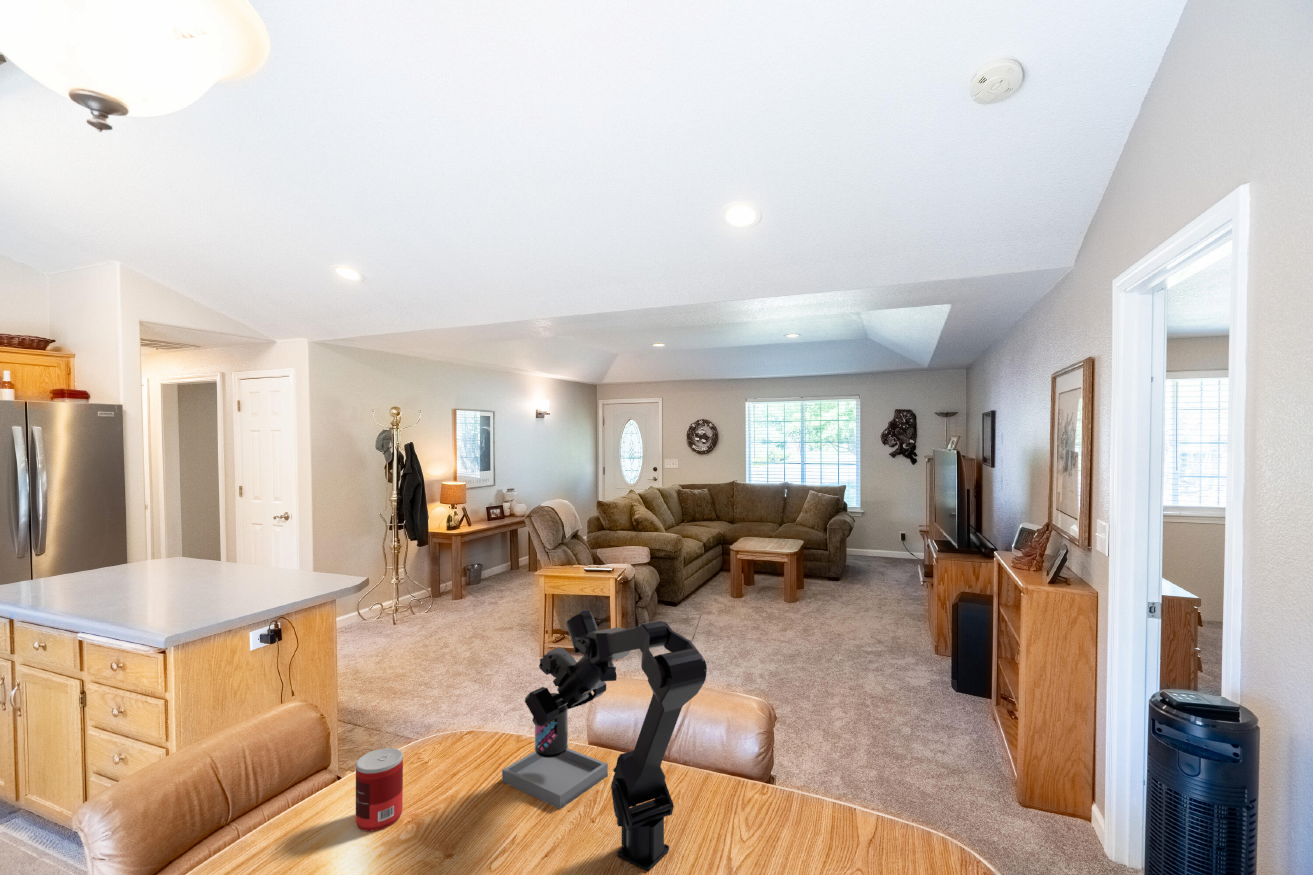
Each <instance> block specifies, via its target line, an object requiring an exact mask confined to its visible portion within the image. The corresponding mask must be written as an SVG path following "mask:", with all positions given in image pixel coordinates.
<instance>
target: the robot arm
mask: <svg viewBox="0 0 1313 875" xmlns="http://www.w3.org/2000/svg"><path fill="white" fill-rule="evenodd" d="M565 625H566V628H567V631H568V635H569V638H570V640H571V644H572V646H573V650H574V652H575V653H576V654H577V653H581V654H582V655H583V656H582V657H581V658H580V659H579V660H578V661H577V660H576V659H575V657H573V655H572V654H571V653H569V652H568V651H567V650H566V649H565V648H563V647H557V648H554V649H552V650H550V651H549V650H548V651H547V652H546V654H544V655H543V656H542V658H540V659H539V664H538V667H539V669H540V671H542V672H543V673H544V674H545V675H547V676H548V675H551V676H552V677H553V678H554V679H553V680H552V683H553V684H554V686H555V688H556V691H557V693H559V694H557V695H554V696H552V695H551V694H550V693H551V692H550V691H549V688H548V687H544V686H541V687H539V688H537V689H535V690H533V691H531V692H529V693H528V695H527V696H525V698H524V703H525V705H526V706H527V708H528V710H529V712H530V713H531V715H532V723H533V725H534V726H535V725H537V724H538V725H539V726H544V725H545V724H547V723H550V722H552V721H553V720H555V719H557V716H558V715H559V708H560V707H562V706H564V705H566V704H568V710H570V709H573V708H576V707H580V706H583V705H586V704H588V703H590V702H591V701H593V700H594V699H597V698H598V697H600V696H602V695H603V694H604V693H605V692H607V683H606V682H616V681H617V677H618V676H617V671H616V670H617V666H615V665H614V662H613V661H617V660H620V659H624V658H625V657H627V656H628V655H629V654H630V653H631V652H630V651H636V650H639V651H640V652H641V664H640V665H641V670H642V671H643V672H644V675H645V677H647V682H648V684H649V687H650V690H651V691H652V697H651V698H650V702H649V705H648V708H647V709H646V710H647V711H646V713H645V717H644V719H643V723H642V725H641V729H640V732H639V735H638V737H637V740H636V744H635V746H634V748H633V750H630V751H627V752H623V753H620V754H619V756H618V757H617V759H616V760H617V761H616V764H615V767H614V768H613V769H612V770H613V772H614V775H613V777H612V780H611V785H610V790H611V796H612V797H611V798H612V804H613V805H612V806H613V812H614V816H615V818H616V825H617V826H618V827H620V828H621V846H622V847H621V848H620V849H619V850H618V851H617V852H616V853H617V854H616V855H617V857H619V858H621V859H623V860H625V861H627V862H629V863H631V864H633V865H635V866H637V867H639V868H641V869H643V870H645V871H649V870H651V869H652V868H653V867H654V866H655V865H656V864H657V863H658V862H659V861H660V860H661V859H662V858H663V857H664V856H665V855H666V854H667V853H668V852H669V851H670V846H669V845H668V844H665V817H668V816H669V817H670V816H673V812H674V808H675V806H674V802H673V799H672V797H671V794H670V791H669V788H668V786H667V783H666V775H665V773H664V770H663V769H662V763H663V759H664V757H665V755H666V751H667V749H668V747H669V743H670V741H671V738H672V735H673V733H674V731H675V728H676V724H677V723H678V719H679V718H680V717H679V716H680V715H681V714H680V713H681V711H682V708H683V707H684V705H686V704H687V703H688V702H689V701H691V700H692V699H693V698H694V697H695V696H697V694H698V693H699V692H700V690H701V689H702V687H703V685H704V683H705V681H706V679H707V672H708V668H707V662H706V660H705V657H704V656H703V655H702V654H701V652H700V651H699V650H698V649H697V647H696V645H694V643H693V642H692V641H691V640H690V639H688V638H686V637H684V636H683V635H680V634H679V633H677V632H675V631H674V630H672V628H671V627H670V625H669V624H668V623H667V622H666V621H662V620H656V621H649V622H644V623H640V624H639V625H637V626H634V627H633V626H632V627H630V628H624V627H613V628H606V629H600V630H599V629H598V625H597V623H596V621H595V618H594V615H593V614H592V613H591V610H590V609H585V610H580V612H579V613H578V614H576V615H573V616H572V617H571V618H569V619H568V620H567V621H566V623H565ZM658 647H664V648H665V650H666V651H668V652H666V653H661V654H657V655H653V653H652V652H651V651H650V649H653V648H654V649H655V648H658ZM592 692H593V693H592ZM557 702H558V703H557Z"/></svg>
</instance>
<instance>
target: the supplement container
mask: <svg viewBox="0 0 1313 875" xmlns="http://www.w3.org/2000/svg"><path fill="white" fill-rule="evenodd" d="M550 694H551V695H552V696H554V695H557V694H559V692H550ZM557 703H558V702H557ZM568 712H569V709H568V704H566V705H564V706H562V707H560V708H559V715H558V716H557V719H555V720H553V721H552V722H550V723H547V724H545V725H544V726H539V725H538V724H537V725H535V724H534V751H536V753H537V754H538V755H539V756H541V757H545V758H553V757H557V756H560V755H562V754H563V753H565V751H566V750H567V748H568V746H569V745H568V743H569V742H568V741H569V740H568V739H569V738H568V737H569V736H568V735H569V731H568V728H569V727H568V726H569V724H568V722H569V720H568V717H569V715H568V714H569V713H568Z"/></svg>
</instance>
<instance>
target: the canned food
mask: <svg viewBox="0 0 1313 875" xmlns="http://www.w3.org/2000/svg"><path fill="white" fill-rule="evenodd" d="M403 776H404V755H403V752H402V750H400V749H398V748H394V747H387V748H386V747H385V748H379V749H375V750H372V751H369V752H367V753H365V754H363V755H362V756H360V758H358V759H357V761H356V764H355V824H356V826H357V828H358V829H359V830H362V831H363V830H364V832H376V831H380V830H383V829H386V828H388V827H391V826H392V825H394V824H395V823H396V822H397V821H399V819H400V817H401V814H402V812H403V804H404V803H403V802H404V801H403V798H404V797H403V796H404V795H403V793H404V791H403V788H404V784H403V781H404V780H403V779H404V777H403Z"/></svg>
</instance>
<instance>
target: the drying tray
mask: <svg viewBox="0 0 1313 875" xmlns="http://www.w3.org/2000/svg"><path fill="white" fill-rule="evenodd" d="M608 765H609V764H608V763H607V762H604V761H601V760H599V759H597V758H593V757H591V756H588V755H586V754H583V753H581V752H578V751H576V750H573V749H571V748H568V747H567V750H566V751H565V753H563V754H562V755H560V756H557V757H553V758H545V757H541V756H539V755H538V754H537V753H536V751H535V750H534V751H533V752H531V753H529V754H528V755H526V756H524V757H522V758H520V759H519V760H517V761H515V762H513V763H512V764H510V765H508V766H507V767H505V768H503V769H502V772H501V773H502V774H501V775H502V776H501V782H502V783H503V784H505V785H508V786H510V787H513V788H514V789H516V790H518V791H520V790H521V792H523V793H524V794H527V795H529V796H531V797H534V798H536V799H537V800H539V801H542V802H544V803H546V804H548V805H550V806H552V807H554V808H557V809H559V810H561V809H563V808H564V807H566V806H567V805H568V804H570V803H571V802H572V801H574V800H576V799H577V798H579V797H580V796H581V795H582V794H584V793H586V792H587V791H588V790H589V789H591V788H593V787H594V786H595V785H597V784H599V782H601V781H603V780H604V779H606V778H607V777H609V776H608V774H609V773H608V772H609V771H608V770H609V768H608V767H609V766H608Z"/></svg>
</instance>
